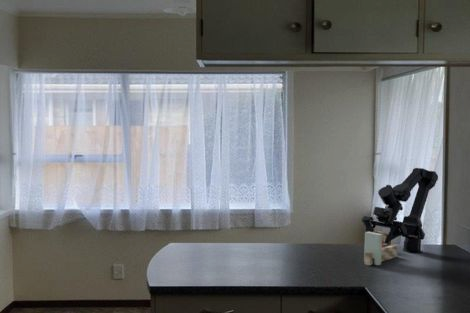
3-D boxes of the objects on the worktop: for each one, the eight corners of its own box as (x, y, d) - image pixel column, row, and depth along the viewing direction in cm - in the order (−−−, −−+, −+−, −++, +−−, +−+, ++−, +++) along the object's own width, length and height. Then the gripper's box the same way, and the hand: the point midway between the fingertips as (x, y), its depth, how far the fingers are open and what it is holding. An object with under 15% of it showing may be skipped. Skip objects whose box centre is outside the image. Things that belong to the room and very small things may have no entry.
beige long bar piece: (392, 255, 220) (393, 244, 219) (397, 256, 218) (397, 245, 218) (364, 264, 205) (365, 252, 205) (369, 265, 204) (369, 253, 203)
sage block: (367, 260, 210) (368, 231, 210) (381, 264, 206) (382, 234, 205) (363, 261, 209) (365, 232, 208) (377, 265, 204) (378, 235, 203)
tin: (364, 245, 238) (365, 228, 238) (369, 245, 239) (370, 227, 239) (386, 253, 225) (387, 234, 224) (391, 252, 226) (392, 234, 225)
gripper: (364, 197, 217) (348, 225, 210) (404, 202, 203) (388, 233, 197) (374, 213, 223) (359, 241, 216) (413, 219, 209) (398, 249, 202)
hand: (375, 241), depth 208 cm, fingers open, 9 cm apart
